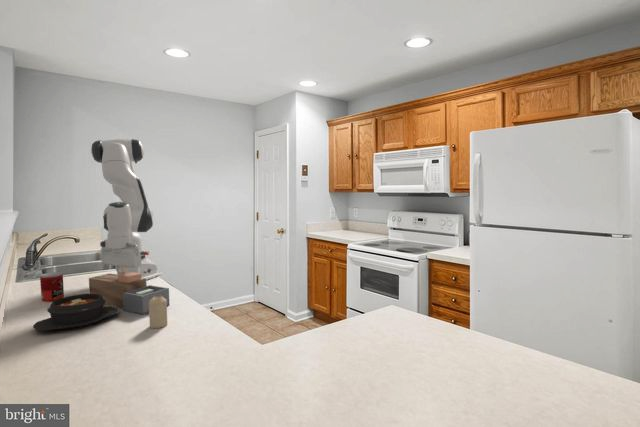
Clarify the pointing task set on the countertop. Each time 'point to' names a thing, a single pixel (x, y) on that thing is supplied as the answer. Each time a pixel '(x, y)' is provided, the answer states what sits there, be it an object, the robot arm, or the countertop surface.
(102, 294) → the brown wooden block
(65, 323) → the casserole
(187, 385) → the countertop surface
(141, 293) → the tile sage
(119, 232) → the robot arm
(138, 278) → the tile terracotta
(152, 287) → the box
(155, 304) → the candle
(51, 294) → the canned food
